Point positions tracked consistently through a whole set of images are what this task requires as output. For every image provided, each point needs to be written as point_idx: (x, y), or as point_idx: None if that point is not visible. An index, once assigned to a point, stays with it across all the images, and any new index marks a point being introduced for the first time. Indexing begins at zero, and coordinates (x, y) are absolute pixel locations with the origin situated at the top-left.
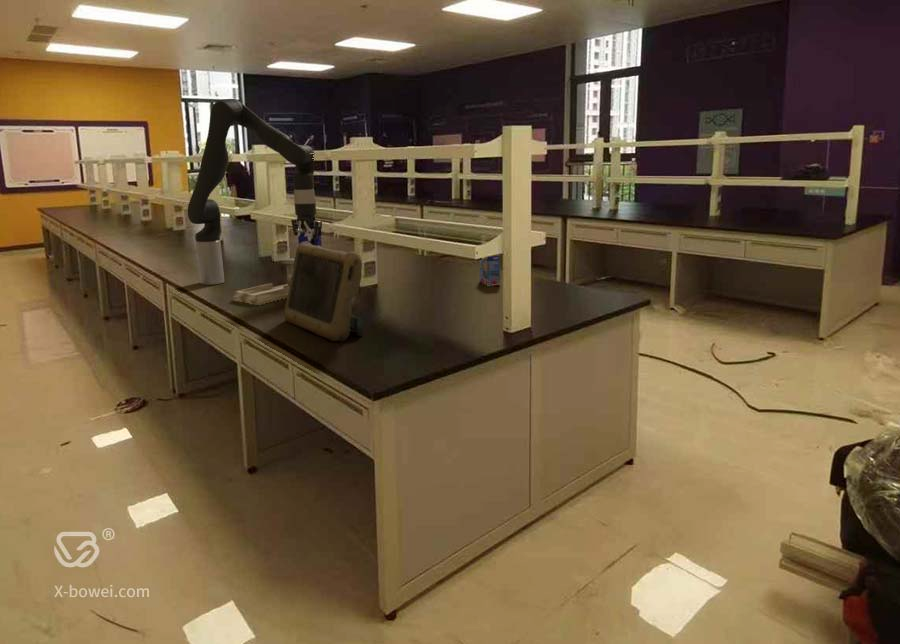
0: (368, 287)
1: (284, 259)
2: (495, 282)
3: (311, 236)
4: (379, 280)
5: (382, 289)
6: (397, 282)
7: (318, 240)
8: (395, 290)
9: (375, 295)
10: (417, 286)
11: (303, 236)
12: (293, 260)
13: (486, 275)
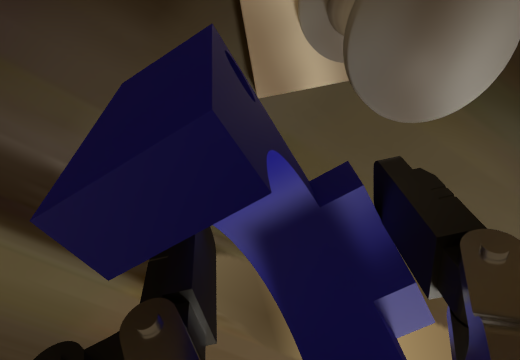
0: None
1: (515, 10)
2: None
3: (157, 331)
4: (239, 326)
5: (100, 280)
6: None
7: (299, 349)
8: (57, 299)
9: (8, 223)
10: None
11: (148, 217)
12: (398, 45)
13: None
